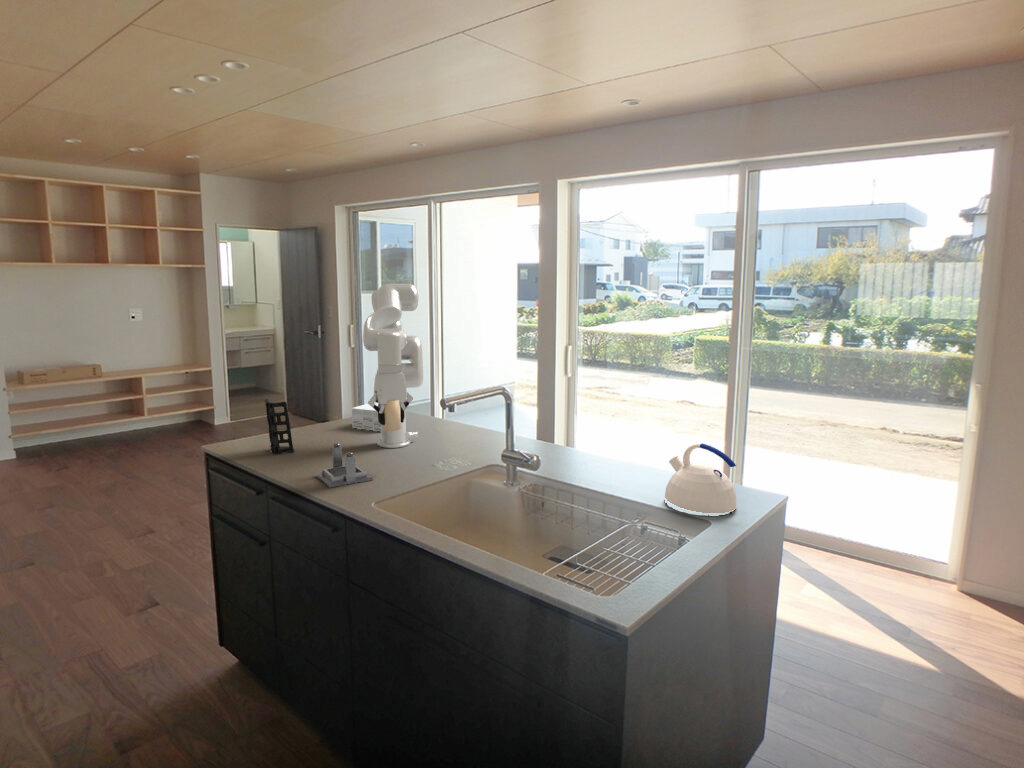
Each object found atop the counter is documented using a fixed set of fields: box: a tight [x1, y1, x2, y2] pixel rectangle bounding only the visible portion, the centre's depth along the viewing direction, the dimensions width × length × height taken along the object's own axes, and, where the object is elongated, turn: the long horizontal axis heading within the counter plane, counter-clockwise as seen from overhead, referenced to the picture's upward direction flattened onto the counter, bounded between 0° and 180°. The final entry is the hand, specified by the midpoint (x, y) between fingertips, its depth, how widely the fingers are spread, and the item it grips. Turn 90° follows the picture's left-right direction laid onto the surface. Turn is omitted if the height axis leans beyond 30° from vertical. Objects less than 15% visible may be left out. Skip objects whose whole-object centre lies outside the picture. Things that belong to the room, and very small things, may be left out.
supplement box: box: [351, 402, 381, 433], centre depth 276 cm, size 17×13×9 cm
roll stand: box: [315, 442, 374, 489], centre depth 206 cm, size 14×15×10 cm
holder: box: [264, 398, 295, 455], centre depth 235 cm, size 11×8×20 cm
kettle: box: [664, 443, 737, 513], centre depth 183 cm, size 20×21×18 cm
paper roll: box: [382, 400, 401, 431], centre depth 211 cm, size 6×6×10 cm
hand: (391, 422), depth 211 cm, fingers closed on paper roll, 6 cm apart
